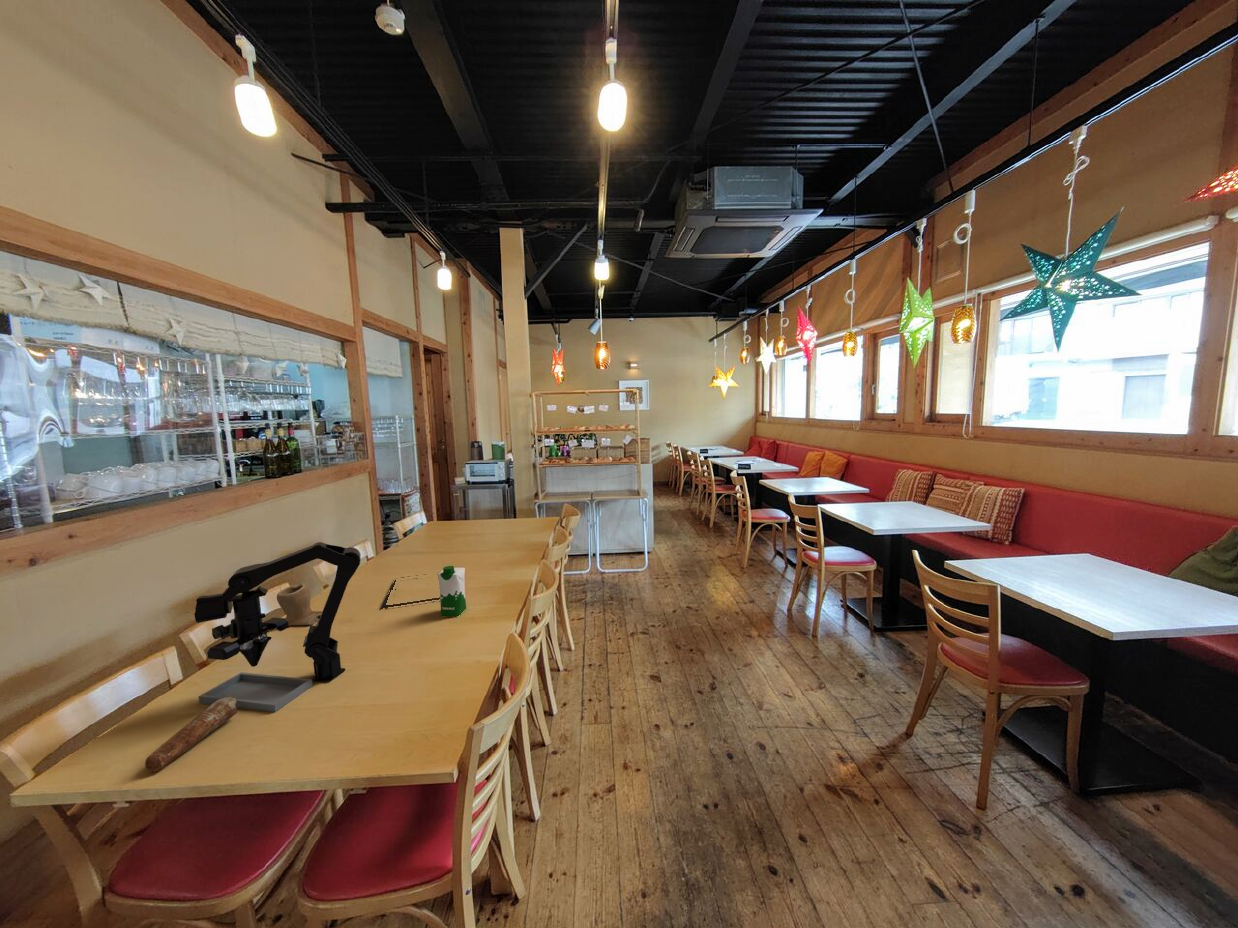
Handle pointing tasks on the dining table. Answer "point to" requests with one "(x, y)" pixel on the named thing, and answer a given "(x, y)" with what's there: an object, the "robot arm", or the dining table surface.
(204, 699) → the serving tray
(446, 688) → the dining table surface
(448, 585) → the milk carton
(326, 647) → the robot arm
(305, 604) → the stone cup
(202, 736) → the brown tapered rod
